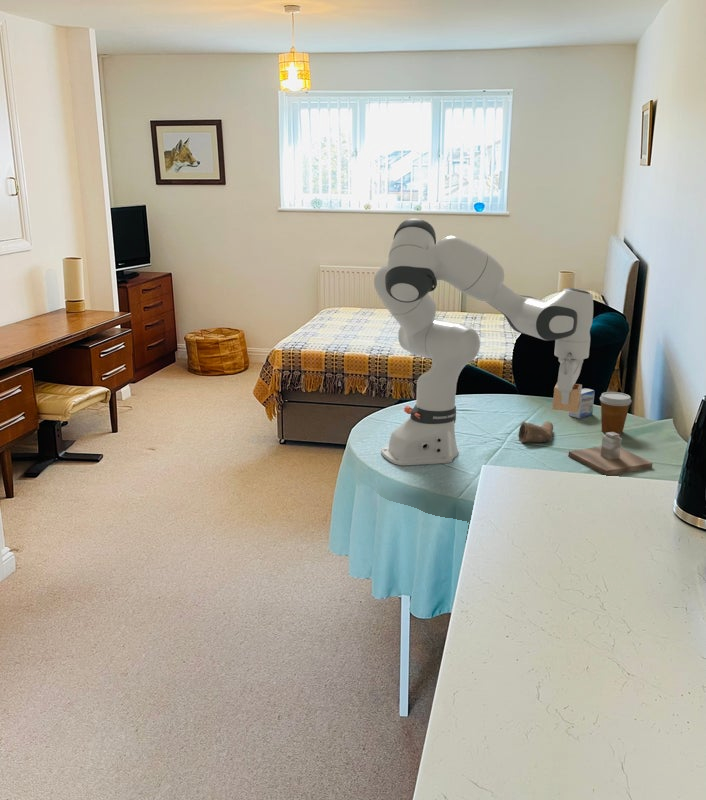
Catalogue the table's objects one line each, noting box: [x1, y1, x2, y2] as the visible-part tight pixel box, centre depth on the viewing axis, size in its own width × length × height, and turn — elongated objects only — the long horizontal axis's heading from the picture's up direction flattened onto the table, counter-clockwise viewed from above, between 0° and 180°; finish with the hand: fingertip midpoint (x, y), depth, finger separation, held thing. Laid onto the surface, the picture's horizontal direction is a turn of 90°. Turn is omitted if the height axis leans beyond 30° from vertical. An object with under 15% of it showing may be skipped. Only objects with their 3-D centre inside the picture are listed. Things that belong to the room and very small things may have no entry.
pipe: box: [518, 421, 554, 444], centre depth 229 cm, size 6×17×10 cm
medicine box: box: [568, 387, 595, 419], centre depth 251 cm, size 8×4×9 cm, turn 129°
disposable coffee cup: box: [599, 391, 632, 435], centre depth 234 cm, size 10×10×12 cm
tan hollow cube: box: [551, 381, 583, 412], centre depth 199 cm, size 6×6×6 cm
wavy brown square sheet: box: [567, 432, 653, 476], centre depth 209 cm, size 16×16×8 cm
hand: (566, 399), depth 199 cm, fingers closed on tan hollow cube, 6 cm apart
